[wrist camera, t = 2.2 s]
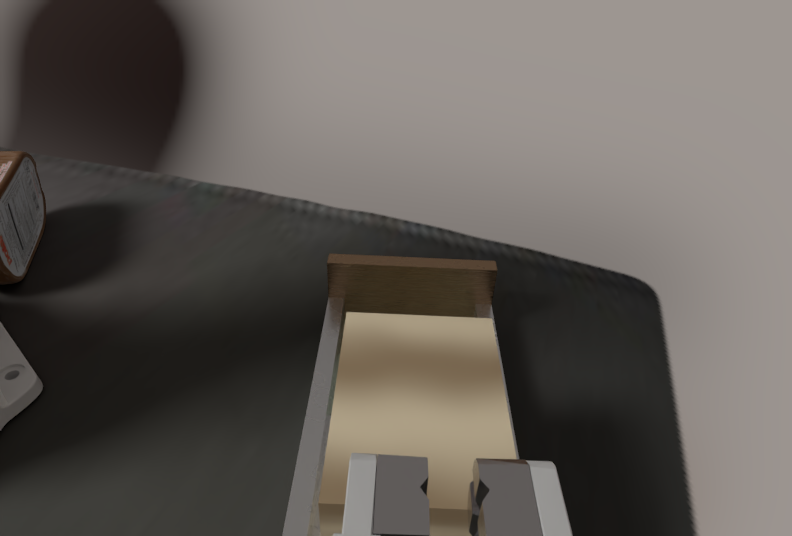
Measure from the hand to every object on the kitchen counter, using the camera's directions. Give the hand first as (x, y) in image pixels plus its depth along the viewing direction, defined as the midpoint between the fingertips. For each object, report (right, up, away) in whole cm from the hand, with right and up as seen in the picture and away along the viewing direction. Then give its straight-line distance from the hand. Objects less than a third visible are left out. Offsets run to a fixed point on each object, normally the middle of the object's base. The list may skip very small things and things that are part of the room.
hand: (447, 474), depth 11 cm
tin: (-35, +5, +40) cm, 53 cm away
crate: (0, -10, +19) cm, 21 cm away
